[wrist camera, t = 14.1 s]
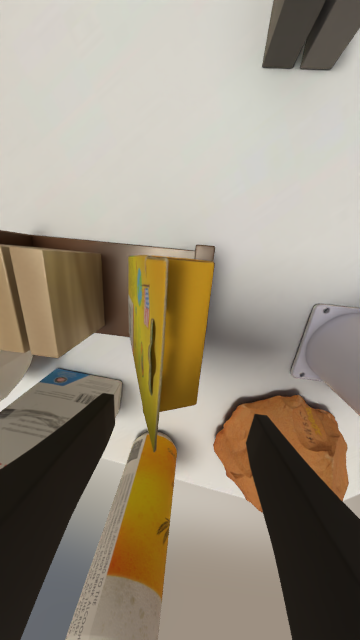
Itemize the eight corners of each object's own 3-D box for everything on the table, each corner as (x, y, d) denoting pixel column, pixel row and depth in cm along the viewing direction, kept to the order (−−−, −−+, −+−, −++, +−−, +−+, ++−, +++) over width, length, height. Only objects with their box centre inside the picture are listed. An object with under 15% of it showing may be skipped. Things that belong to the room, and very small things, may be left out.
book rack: (212, 252, 16) (225, 247, 9) (199, 341, 19) (201, 390, 12) (26, 235, 17) (-96, 216, 10) (41, 322, 20) (-45, 356, 13)
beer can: (159, 465, 26) (115, 713, 12) (126, 443, 25) (35, 681, 11) (186, 445, 24) (172, 709, 10) (151, 421, 23) (81, 671, 9)
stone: (231, 368, 23) (300, 412, 13) (318, 391, 26) (425, 440, 16) (197, 480, 22) (240, 611, 13) (288, 489, 26) (379, 599, 16)
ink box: (58, 397, 23) (-67, 521, 12) (56, 366, 22) (-91, 476, 11) (120, 410, 23) (50, 549, 12) (123, 380, 22) (44, 508, 10)
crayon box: (158, 333, 18) (215, 441, 8) (128, 335, 17) (146, 461, 7) (162, 257, 16) (252, 264, 5) (127, 253, 15) (154, 254, 4)
